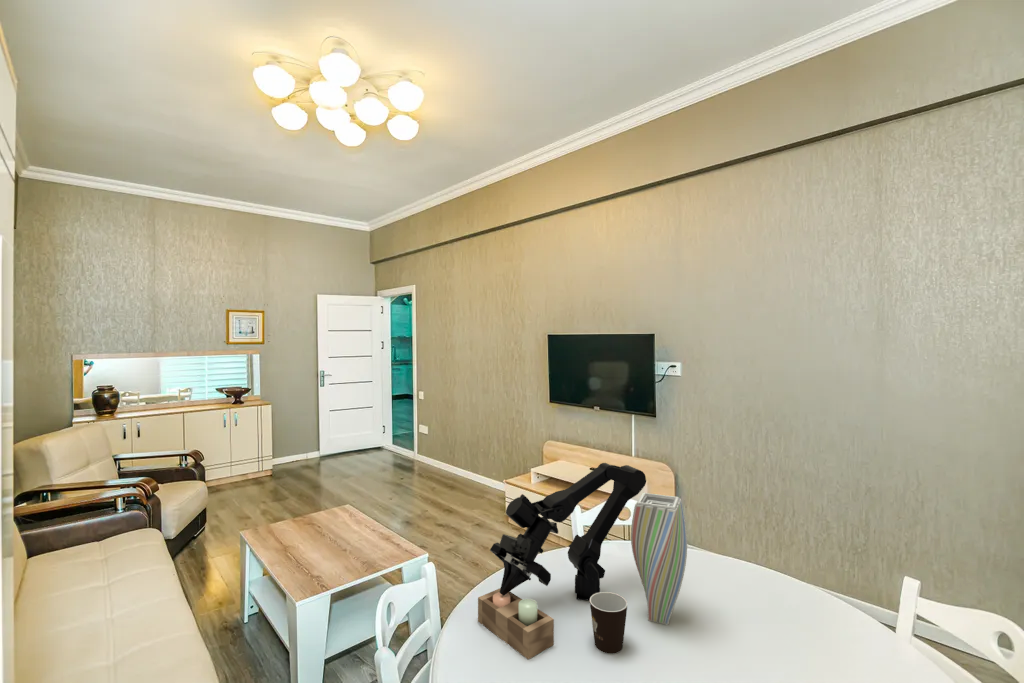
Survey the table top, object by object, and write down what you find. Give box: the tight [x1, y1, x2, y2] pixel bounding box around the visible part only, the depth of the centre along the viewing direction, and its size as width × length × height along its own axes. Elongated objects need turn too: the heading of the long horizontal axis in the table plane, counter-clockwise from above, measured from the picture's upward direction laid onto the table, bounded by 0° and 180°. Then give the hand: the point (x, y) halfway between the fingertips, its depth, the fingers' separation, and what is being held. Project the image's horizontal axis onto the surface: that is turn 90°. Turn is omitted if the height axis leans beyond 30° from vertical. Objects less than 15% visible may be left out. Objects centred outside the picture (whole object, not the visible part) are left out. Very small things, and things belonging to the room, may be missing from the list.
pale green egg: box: [519, 598, 538, 626], centre depth 110 cm, size 4×4×5 cm
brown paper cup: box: [589, 591, 628, 655], centre depth 111 cm, size 12×9×10 cm
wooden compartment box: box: [477, 587, 555, 660], centre depth 114 cm, size 8×19×6 cm, turn 40°
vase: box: [630, 492, 688, 626], centre depth 120 cm, size 14×14×30 cm
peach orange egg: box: [493, 592, 510, 608], centre depth 118 cm, size 4×4×5 cm
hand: (501, 594), depth 118 cm, fingers closed
